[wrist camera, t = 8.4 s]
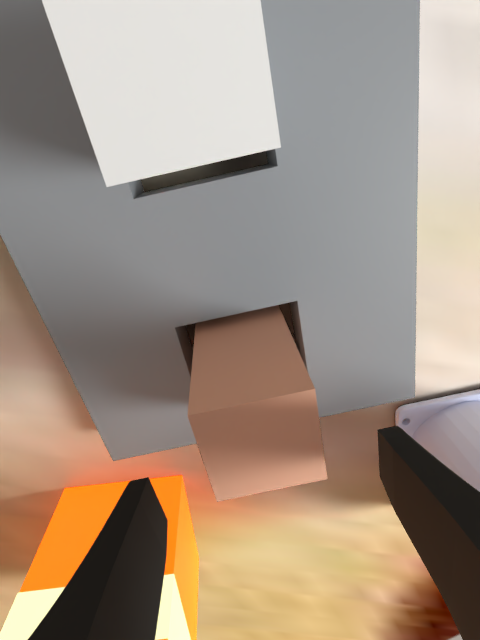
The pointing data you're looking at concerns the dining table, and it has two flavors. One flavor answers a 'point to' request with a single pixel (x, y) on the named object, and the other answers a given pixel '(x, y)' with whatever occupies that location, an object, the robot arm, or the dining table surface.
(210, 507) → the dining table surface
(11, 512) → the dining table surface
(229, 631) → the dining table surface
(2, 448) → the dining table surface
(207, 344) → the peg
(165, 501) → the orange juice
